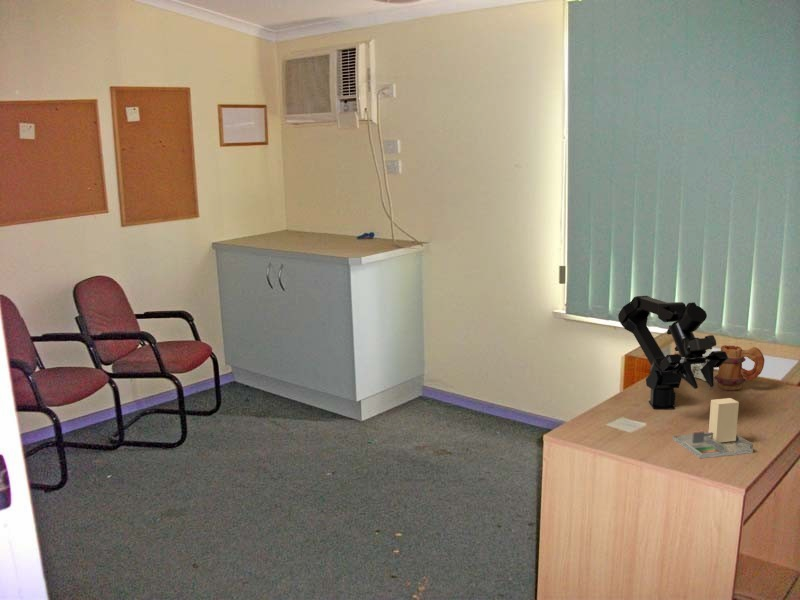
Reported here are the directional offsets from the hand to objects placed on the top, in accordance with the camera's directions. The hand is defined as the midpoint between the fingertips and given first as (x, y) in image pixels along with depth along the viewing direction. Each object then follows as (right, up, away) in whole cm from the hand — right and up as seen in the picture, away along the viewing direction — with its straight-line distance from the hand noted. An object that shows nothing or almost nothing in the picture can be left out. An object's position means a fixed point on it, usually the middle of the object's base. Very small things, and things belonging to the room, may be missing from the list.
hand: (704, 387), depth 210 cm
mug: (+26, -5, +37) cm, 46 cm away
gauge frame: (-1, -15, -8) cm, 17 cm away
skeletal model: (+16, -3, +51) cm, 54 cm away
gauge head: (0, -13, -7) cm, 15 cm away
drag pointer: (-6, -14, -9) cm, 18 cm away
